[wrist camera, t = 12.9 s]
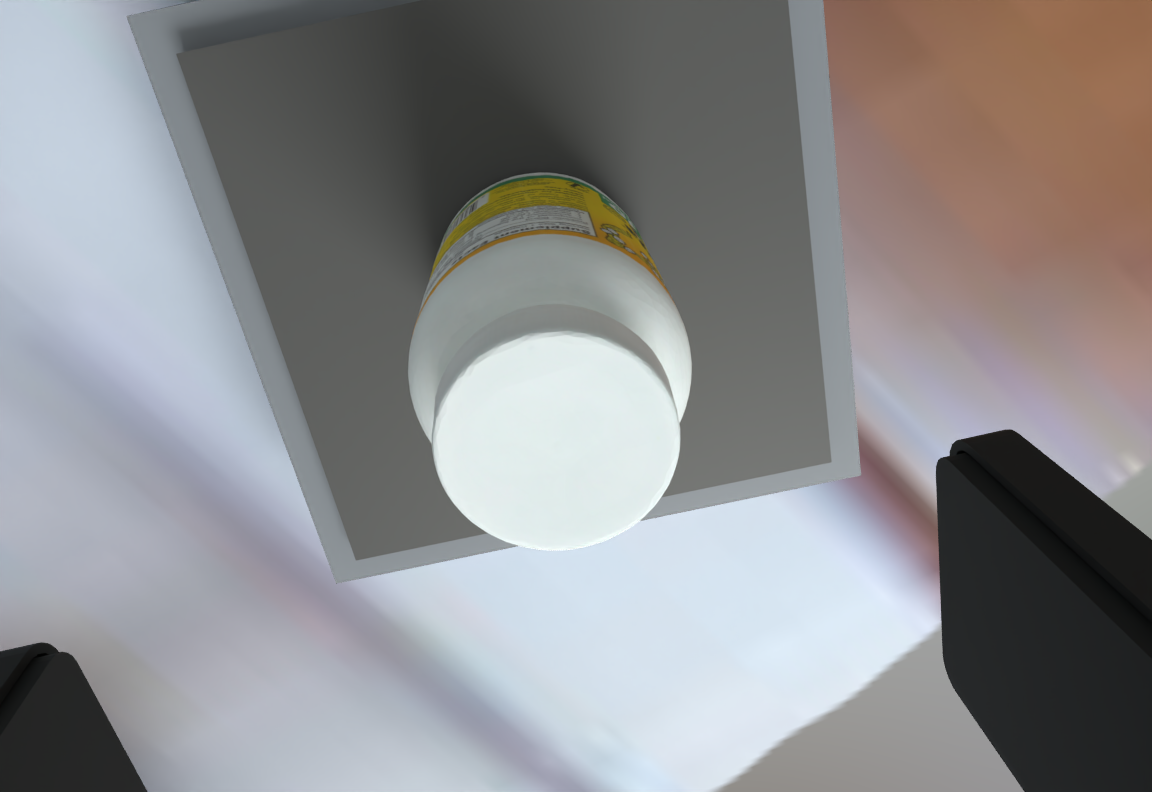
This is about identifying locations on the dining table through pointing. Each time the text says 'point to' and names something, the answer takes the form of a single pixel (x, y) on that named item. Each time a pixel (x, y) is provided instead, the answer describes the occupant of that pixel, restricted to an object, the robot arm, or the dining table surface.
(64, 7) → the dining table surface
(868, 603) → the dining table surface
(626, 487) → the supplement bottle
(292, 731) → the dining table surface
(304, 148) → the plinth
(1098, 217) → the dining table surface
